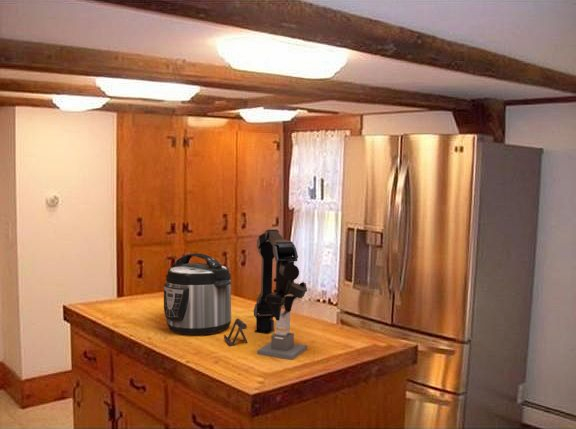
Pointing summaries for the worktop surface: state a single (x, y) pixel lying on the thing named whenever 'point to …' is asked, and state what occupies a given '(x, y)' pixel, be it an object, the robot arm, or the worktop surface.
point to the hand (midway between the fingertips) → (282, 317)
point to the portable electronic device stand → (241, 326)
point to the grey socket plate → (282, 347)
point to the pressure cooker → (197, 296)
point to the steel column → (283, 324)
